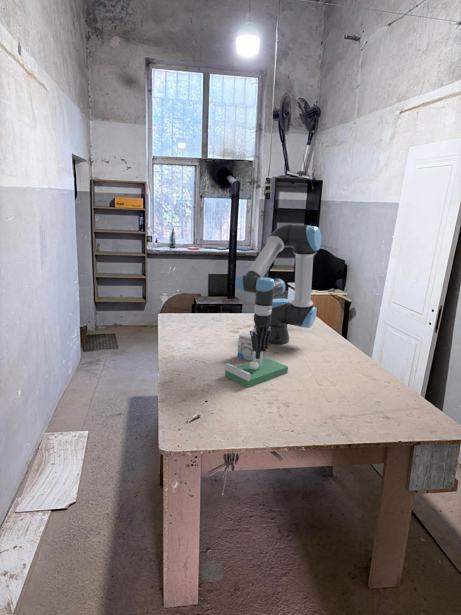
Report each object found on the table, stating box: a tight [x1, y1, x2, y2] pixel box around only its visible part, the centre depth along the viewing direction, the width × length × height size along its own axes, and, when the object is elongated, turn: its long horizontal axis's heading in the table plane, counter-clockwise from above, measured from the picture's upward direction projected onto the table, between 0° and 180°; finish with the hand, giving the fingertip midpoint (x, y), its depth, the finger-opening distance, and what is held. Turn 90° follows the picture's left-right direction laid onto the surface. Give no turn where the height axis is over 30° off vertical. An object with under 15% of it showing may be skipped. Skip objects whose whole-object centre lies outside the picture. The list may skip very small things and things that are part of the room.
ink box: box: [237, 332, 256, 362], centre depth 207 cm, size 9×5×12 cm, turn 62°
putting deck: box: [224, 357, 289, 388], centre depth 188 cm, size 14×26×6 cm, turn 133°
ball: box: [250, 360, 259, 370], centre depth 186 cm, size 4×4×4 cm
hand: (258, 364), depth 188 cm, fingers closed
